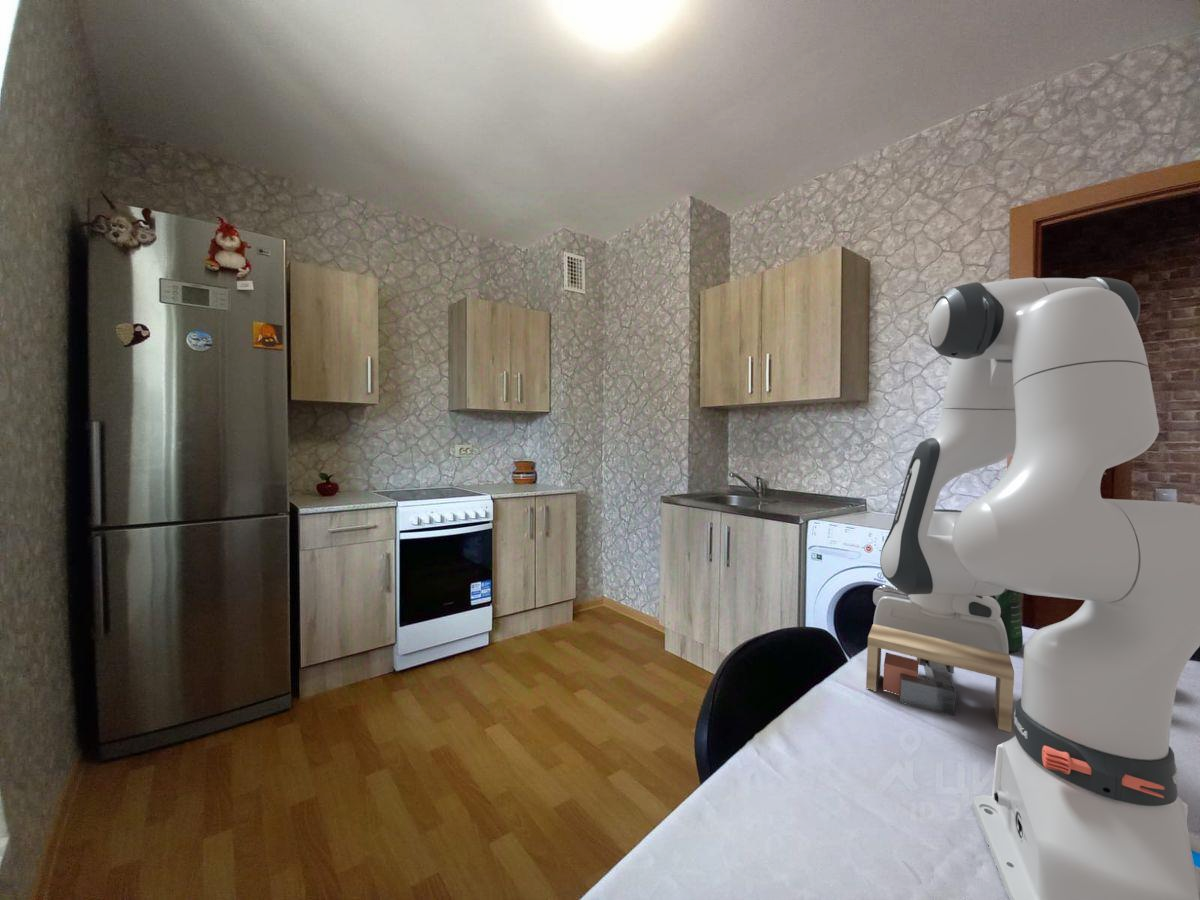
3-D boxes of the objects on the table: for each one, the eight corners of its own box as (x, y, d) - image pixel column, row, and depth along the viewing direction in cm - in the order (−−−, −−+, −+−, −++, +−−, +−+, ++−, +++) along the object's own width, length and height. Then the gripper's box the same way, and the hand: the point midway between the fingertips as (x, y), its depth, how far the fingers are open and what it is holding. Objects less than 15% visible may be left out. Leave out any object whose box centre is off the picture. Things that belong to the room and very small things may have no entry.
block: (917, 700, 80) (918, 671, 79) (883, 690, 82) (884, 663, 82) (917, 687, 84) (918, 660, 84) (884, 678, 87) (885, 652, 86)
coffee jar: (1029, 649, 99) (1033, 563, 98) (1007, 656, 96) (1012, 567, 95) (977, 631, 108) (981, 552, 107) (956, 637, 105) (960, 555, 104)
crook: (954, 716, 75) (955, 692, 75) (900, 702, 79) (901, 679, 79) (935, 659, 94) (936, 640, 94) (892, 650, 97) (892, 632, 97)
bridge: (1011, 732, 71) (1014, 672, 71) (866, 688, 83) (868, 636, 82) (1006, 710, 77) (1009, 654, 76) (871, 672, 89) (873, 623, 88)
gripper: (871, 587, 90) (868, 657, 90) (1012, 613, 78) (1008, 694, 78) (875, 579, 95) (872, 645, 95) (1008, 602, 83) (1004, 678, 83)
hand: (934, 667), depth 87 cm, fingers closed on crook, 3 cm apart
